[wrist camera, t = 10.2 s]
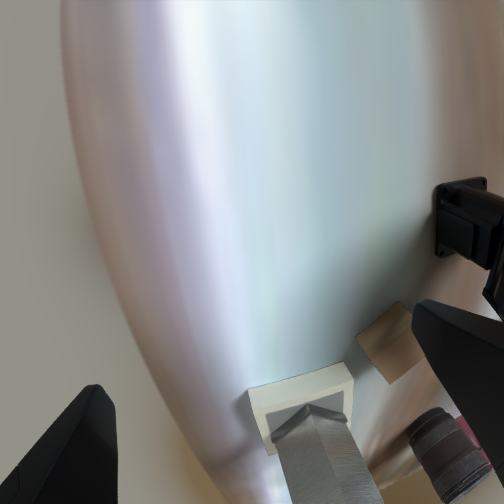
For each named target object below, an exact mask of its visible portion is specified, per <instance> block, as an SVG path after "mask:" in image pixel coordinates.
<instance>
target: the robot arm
mask: <svg viewBox="0 0 504 504" xmlns="http://www.w3.org/2000/svg"><path fill="white" fill-rule="evenodd" d="M443 189H444V190H443ZM454 253H458V254H459V255H461V256H463V257H464V258H466V259H467V260H471V261H473V262H474V263H476V264H477V265H479V266H480V267H482V268H483V269H485V270H490V273H489V276H488V280H487V283H486V286H485V287H484V289H483V292H482V295H483V296H484V297H485V299H486V300H487V301H488V302H489V304H490V305H491V306H492V308H493V309H494V310H495V311H496V313H497V314H498V315H499V317H500V318H501V320H502V321H503V322H504V197H501V196H498V195H496V194H493V193H491V192H488V191H487V180H486V178H485V177H475V178H469V179H464V180H459V181H453V182H448V183H443V184H440V185H439V186H438V189H437V231H436V248H435V255H436V256H437V257H438V258H443V257H446V256H449V255H452V254H454ZM503 322H500V321H497V320H494V319H490V318H487V317H484V316H481V315H478V314H475V313H471V312H468V311H465V310H462V309H459V308H455V307H452V306H449V305H446V304H443V303H439V302H436V301H433V300H430V299H423V300H421V301H418V302H416V303H415V304H414V306H413V313H412V320H411V330H412V333H413V335H414V336H415V338H416V340H417V342H418V344H419V345H420V347H421V349H422V351H423V353H424V355H425V356H426V358H427V360H428V362H429V364H430V366H431V368H432V369H433V371H434V373H435V374H436V376H437V377H438V379H439V380H440V382H441V383H442V385H443V386H444V388H445V389H446V391H447V392H448V394H449V395H450V397H451V398H452V400H453V402H454V403H455V405H456V406H457V408H458V409H459V411H460V413H461V414H462V416H463V417H464V419H465V421H466V422H467V424H468V425H469V427H470V429H471V430H472V432H473V434H474V435H475V437H476V439H477V440H478V442H479V444H480V446H481V447H482V449H483V451H484V452H485V454H486V456H487V458H488V460H489V461H490V463H491V465H492V467H493V469H494V470H495V473H496V474H497V476H498V478H499V480H500V482H501V484H502V486H503V488H504V323H503ZM117 488H118V448H117V432H116V413H115V406H114V403H113V402H112V400H111V399H110V397H109V396H108V395H107V394H106V392H105V390H104V389H103V388H102V386H100V385H98V384H95V385H88V386H86V387H85V388H84V389H83V390H82V391H81V392H80V393H79V394H78V395H77V396H76V398H75V399H74V400H73V401H72V402H71V403H70V404H69V406H68V407H67V408H66V409H65V410H64V411H63V412H62V414H61V415H60V416H59V417H58V418H57V419H56V420H55V421H54V423H53V424H52V425H51V426H50V427H49V428H48V429H47V431H46V432H45V433H44V434H43V435H42V437H41V438H40V439H39V440H38V441H37V442H36V443H35V445H34V446H33V447H32V448H31V449H30V450H29V452H28V453H27V454H26V455H25V456H24V458H23V459H22V460H21V461H20V462H19V464H18V466H16V467H15V468H14V469H13V471H12V472H11V473H10V474H9V476H8V477H7V478H6V479H5V480H4V481H3V482H2V484H1V485H0V504H118V489H117Z"/></svg>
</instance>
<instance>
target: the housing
mask: <svg viewBox="0 0 504 504" xmlns="http://www.w3.org/2000/svg"><path fill="white" fill-rule="evenodd" d="M347 422H348V420H347V418H346V416H345V414H344V413H340V412H336V411H333V410H329V409H325V408H322V407H319V406H315V405H312V404H308V403H307V404H306V405H304V406H303V407H302V408H301V409H300V410H299V411H298V412H296V413H295V414H294V415H293V416H292V417H291V418H290V419H288V420H287V421H286V422H285V423H284V424H282V425H281V426H280V427H279V428H278V429H276V430H275V431H274V432H273V433H271V434H270V437H271V441H272V443H274V444H276V447H277V451H278V455H279V458H280V462H281V465H282V469H283V472H284V476H285V479H286V483H287V486H288V490H289V493H290V496H291V500H292V503H293V504H384V502H383V500H382V497H381V495H380V493H379V491H378V489H377V487H376V485H375V483H374V481H373V478H372V476H371V474H370V472H369V470H368V468H367V466H366V464H365V462H364V460H363V458H362V455H361V453H360V451H359V449H358V447H357V445H356V443H355V441H354V439H353V437H352V435H351V433H350V431H349V429H348V426H347V424H346V423H347Z"/></svg>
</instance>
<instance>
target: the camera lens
mask: <svg viewBox="0 0 504 504" xmlns="http://www.w3.org/2000/svg"><path fill="white" fill-rule="evenodd" d="M407 435H408V436H409V438H410V441H409V443H410V445H411V447H412V450H413V452H414V454H415V456H416V457H417V459H418V461H419V462H420V463H421V465H422V466H423V468H424V470H425V471H426V473H427V474H428V476H429V477H430V479H431V483H432V485H433V487H434V489H435V490H436V492H437V494H438V496H439V497H440V498H441V500H442V502H444V503H445V504H453V503H454V502H456V501H458V500H459V499H461V498H462V497H464V496H465V495H466V494H468V493H469V492H470V491H472V490H473V489H474V488H475V487H476V486H478V485H479V484H480V483H481V482H482V481H484V479H486V478H487V477H488V476H489V475H490V474H491V472H492V470H491V468H490V465H489V463H488V462H487V460H486V459H485V457H484V456H483V455H482V453H481V452H480V450H478V449H477V447H476V446H474V444H473V443H472V442H471V440H470V439H469V438H468V436H467V435H466V434H465V432H464V431H463V429H462V427H461V426H460V425H459V423H458V422H457V421H456V420H455V419H454V418H453V417H452V416H451V415H450V413H446V412H445V411H444V410H443V408H441V407H438V408H434V409H432V410H430V411H428V412H426V413H425V414H423V415H422V416H420V417H419V418H418V419H417V420H416V421H415V422H414V423H413V424H412V425H411V426H410V427H409V429H408V431H407Z"/></svg>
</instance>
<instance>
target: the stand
mask: <svg viewBox="0 0 504 504" xmlns="http://www.w3.org/2000/svg"><path fill="white" fill-rule="evenodd" d="M353 387H354V379H353V377H352V375H351V374H350V372H349V370H348V369H347V367H346V365H345V364H344V362H340V363H337V364H334V365H331V366H328V367H325V368H322V369H319V370H316V371H312V372H309V373H306V374H303V375H299V376H296V377H292V378H289V379H285V380H282V381H278V382H274V383H270V384H267V385H263V386H259V387H255V388H251V389H248V393H249V398H250V402H251V407H252V411H253V414H254V417H255V419H256V422H257V425H258V428H259V431H260V434H261V437H262V439H263V442H264V445H265V448H266V450H267V453H268V456H269V455H273V454H277V453H278V451H277V447H276V444H274V443H272V441H271V437H270V434H271V433H273V432H274V431H275V430H276V429H278V428H279V427H280V426H281V425H282V424H284V423H285V422H286V421H287V420H288V419H290V418H291V417H292V416H293V415H294V414H295V413H296V412H298V411H299V410H300V409H301V408H302V407H303V406H304V405H306V404H307V403H308V404H312V405H315V406H319V407H322V408H325V409H329V410H333V411H336V412H340V413H344V414H345V416H346V418H347V420H348V422H347V423H346V424H347V426H348V429H349V431H350V427H351V415H352V402H353Z"/></svg>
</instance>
